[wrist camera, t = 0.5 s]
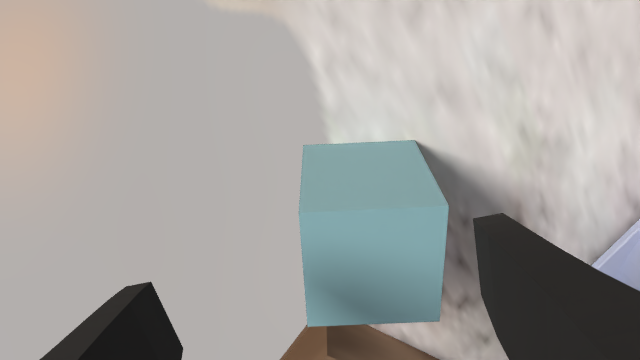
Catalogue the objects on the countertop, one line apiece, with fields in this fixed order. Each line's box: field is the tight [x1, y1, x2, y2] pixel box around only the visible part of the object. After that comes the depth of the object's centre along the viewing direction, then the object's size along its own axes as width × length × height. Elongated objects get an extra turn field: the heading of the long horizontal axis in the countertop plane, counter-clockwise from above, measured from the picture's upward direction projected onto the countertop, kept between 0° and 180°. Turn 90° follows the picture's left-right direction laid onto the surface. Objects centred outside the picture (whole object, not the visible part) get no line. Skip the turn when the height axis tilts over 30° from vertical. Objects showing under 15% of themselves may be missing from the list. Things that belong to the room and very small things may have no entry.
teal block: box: [299, 140, 449, 327], centre depth 18 cm, size 4×4×6 cm
